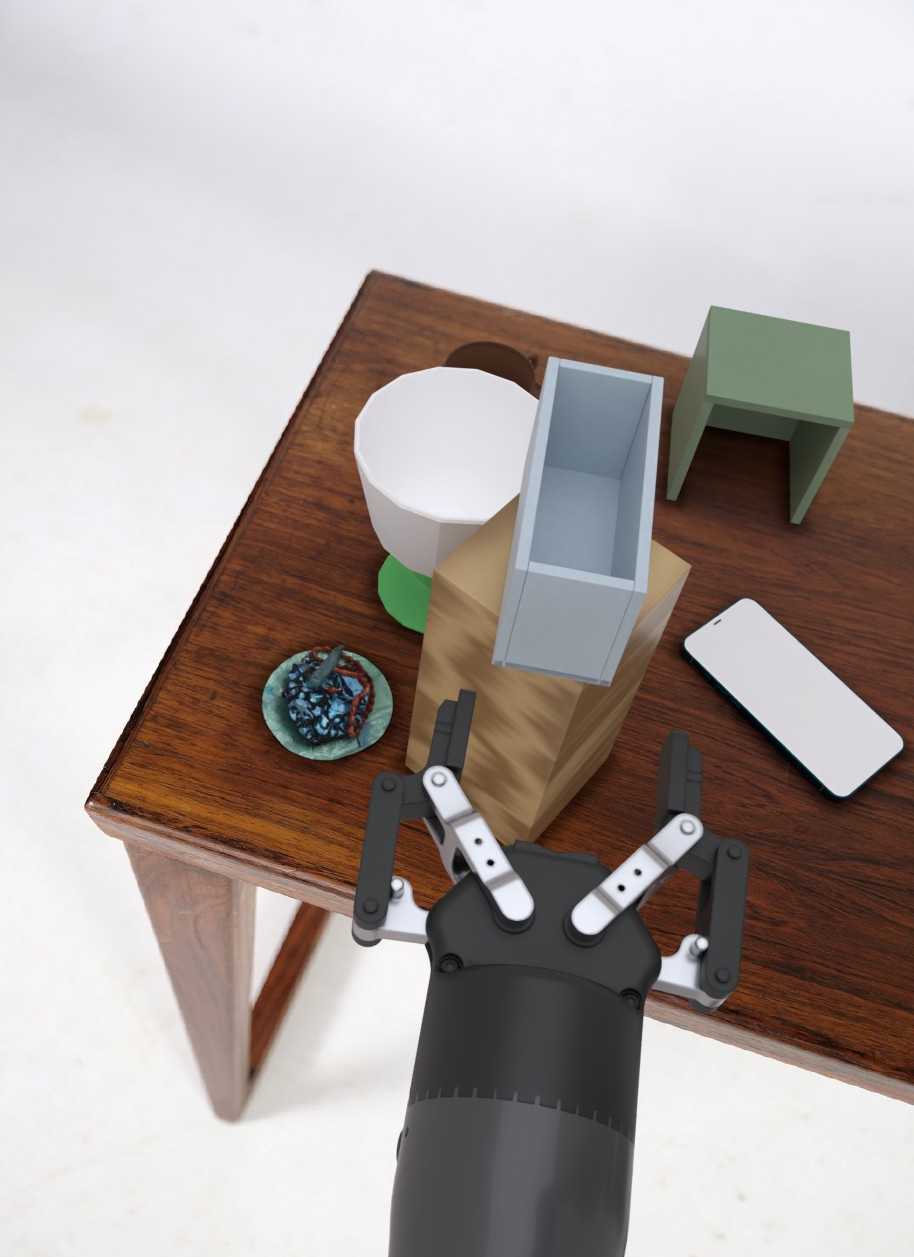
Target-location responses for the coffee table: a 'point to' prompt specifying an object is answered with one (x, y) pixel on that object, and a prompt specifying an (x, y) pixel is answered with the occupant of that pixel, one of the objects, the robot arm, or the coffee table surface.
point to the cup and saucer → (498, 363)
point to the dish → (327, 703)
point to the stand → (523, 688)
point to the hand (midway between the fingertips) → (569, 719)
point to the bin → (582, 523)
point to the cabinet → (767, 394)
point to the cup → (437, 471)
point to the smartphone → (793, 699)
